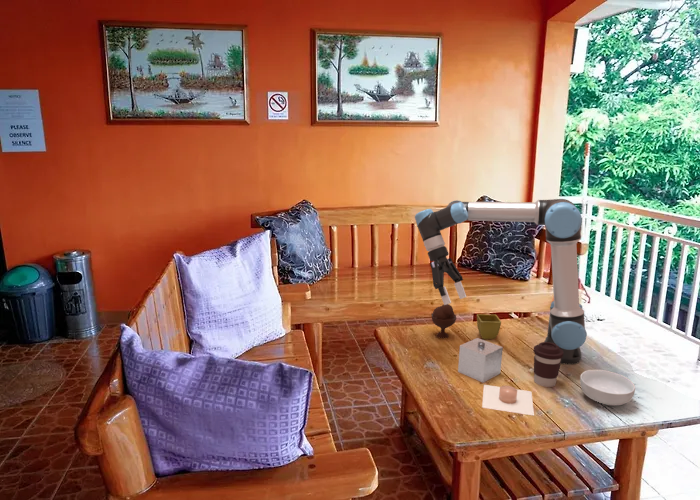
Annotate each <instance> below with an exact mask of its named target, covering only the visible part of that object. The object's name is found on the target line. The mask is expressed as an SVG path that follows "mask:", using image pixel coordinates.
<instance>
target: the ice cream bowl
mask: <svg viewBox="0 0 700 500" xmlns="http://www.w3.org/2000/svg"><path fill="white" fill-rule="evenodd" d="M430 316H431V321H432V323H433V324H434V325H435V326H437V327H439V328H440V331H439V332H438V333H436V337H437V338H439V339H443V340H445V339H448V338H449V334H448V333H446V329H448V328H449V327H452V326H453V325H454V324H455V323H456V321H457V316H456V314H455V312H454V308H453V307H452V305H451V304H450V303H449V304H446V305H444V304H442V305H440V306H437V307H435V308H434V309H433V311H432V313H431V315H430Z"/></svg>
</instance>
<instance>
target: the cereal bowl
mask: <svg viewBox="0 0 700 500" xmlns="http://www.w3.org/2000/svg"><path fill="white" fill-rule="evenodd" d="M579 383H580V384H579V385H580V388H581V391H582V392H583V393H584V395H586V396H587V397H588V398H589V399H591V400H592V401H595V402H596V401H597V402H596V403H598V402H599V403H598V404H601V403H603V404H602V405H604V404H607V405H606V406H621V405H624V404H627V403H629V402H630V401H631V400H632V399H633V398H634V395H635V393H636V386H635V384H634V382H633V381H632V380H631V379H629V378H628V377H626V376H624V375H622V374H621V373H617V372H614V371H609V370H604V369H587V370H585V371H583V372H582V373H581V374H580V375H579Z"/></svg>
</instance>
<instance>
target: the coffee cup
mask: <svg viewBox="0 0 700 500" xmlns="http://www.w3.org/2000/svg"><path fill="white" fill-rule="evenodd" d="M532 353H534V357H533V374H534V375H533V381H534V383H535V384H537V385H539V386H541V387H544V388H545V387H547V388H553V387H555V386H556V384H557V379H558V378H559V377H558V376H559V372H560V368H561V367H560V366H561V365H562V364H561V358H562V357H563V353H564V352H563V350H562V349H560V348H559V346H558V345H556V344H554V343H550V342H544V341H541V342H539V343H538V344H535V346H533V352H532Z"/></svg>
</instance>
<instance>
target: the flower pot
mask: <svg viewBox="0 0 700 500" xmlns="http://www.w3.org/2000/svg"><path fill="white" fill-rule="evenodd" d="M501 325H502V321H501V319H500V318H499V316H498V315H497V314H484V313H483V314H481V313H480V314H479V313H478V314H476V326H477V327H476V328H477V331H478V333H479V335H480V336H481V338H482V340H495V339H496V338H497V336H498V335H499V332H500V331H501Z"/></svg>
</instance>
